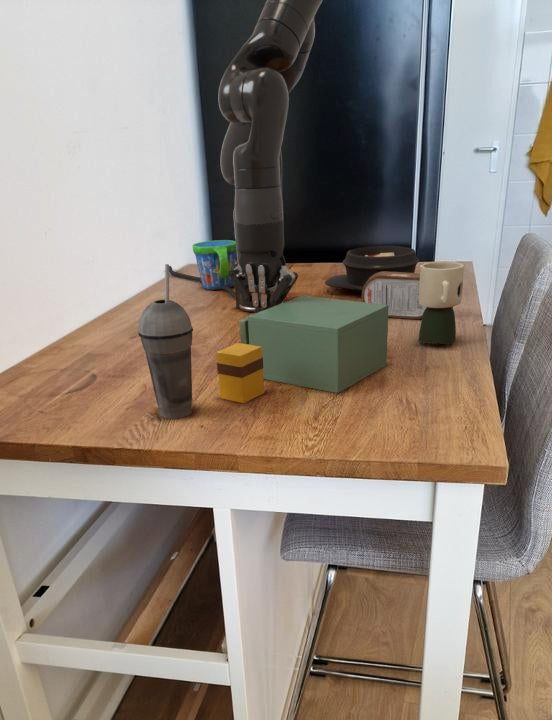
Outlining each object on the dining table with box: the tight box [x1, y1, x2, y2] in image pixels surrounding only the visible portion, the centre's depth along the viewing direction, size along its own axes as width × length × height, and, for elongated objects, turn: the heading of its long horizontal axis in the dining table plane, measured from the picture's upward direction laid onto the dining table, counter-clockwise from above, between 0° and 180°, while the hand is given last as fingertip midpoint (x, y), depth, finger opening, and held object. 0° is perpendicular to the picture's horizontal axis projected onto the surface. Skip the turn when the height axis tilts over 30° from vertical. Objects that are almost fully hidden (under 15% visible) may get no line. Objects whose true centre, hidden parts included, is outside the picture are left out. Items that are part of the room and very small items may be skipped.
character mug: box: [418, 261, 465, 347], centre depth 119 cm, size 11×7×13 cm, turn 179°
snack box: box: [215, 342, 265, 404], centre depth 103 cm, size 5×4×7 cm
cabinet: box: [247, 295, 389, 394], centre depth 110 cm, size 16×15×10 cm
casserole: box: [324, 245, 420, 294], centre depth 159 cm, size 25×19×8 cm
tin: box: [361, 271, 427, 320], centre depth 137 cm, size 15×3×8 cm, turn 65°
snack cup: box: [192, 239, 237, 291], centre depth 169 cm, size 16×10×10 cm
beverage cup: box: [137, 263, 194, 420], centre depth 95 cm, size 7×7×20 cm
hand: (265, 328), depth 119 cm, fingers closed
